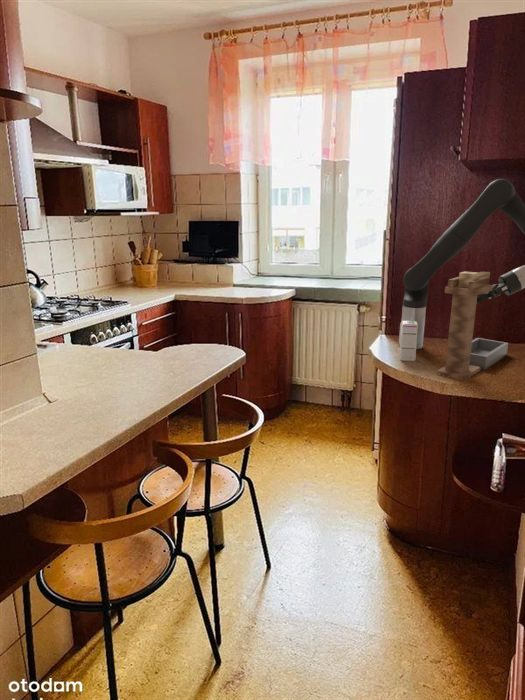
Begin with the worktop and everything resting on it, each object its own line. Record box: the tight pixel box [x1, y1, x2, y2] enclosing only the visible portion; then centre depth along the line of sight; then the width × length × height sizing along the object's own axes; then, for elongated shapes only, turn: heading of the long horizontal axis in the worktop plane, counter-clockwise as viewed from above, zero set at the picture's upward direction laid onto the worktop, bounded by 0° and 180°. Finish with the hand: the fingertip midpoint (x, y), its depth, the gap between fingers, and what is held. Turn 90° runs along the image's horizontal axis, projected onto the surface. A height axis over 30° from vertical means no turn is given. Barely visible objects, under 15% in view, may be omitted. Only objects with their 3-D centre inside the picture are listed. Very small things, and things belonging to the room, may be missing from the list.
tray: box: [469, 337, 509, 371], centre depth 194 cm, size 12×24×5 cm, turn 138°
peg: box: [458, 271, 491, 287], centre depth 175 cm, size 4×18×4 cm, turn 138°
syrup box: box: [399, 320, 418, 362], centre depth 194 cm, size 6×6×14 cm
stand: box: [436, 276, 492, 381], centre depth 175 cm, size 10×14×34 cm
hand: (472, 301), depth 181 cm, fingers open, 8 cm apart
